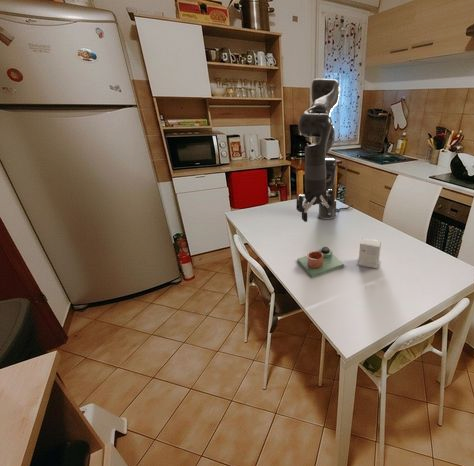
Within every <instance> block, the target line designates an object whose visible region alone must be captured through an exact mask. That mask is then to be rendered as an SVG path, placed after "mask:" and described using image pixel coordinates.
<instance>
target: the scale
mask: <svg viewBox="0 0 474 466" xmlns="http://www.w3.org/2000/svg"><path fill="white" fill-rule="evenodd" d="M322 248H323V247H321V248H319V249H318V250H317V251H319V252H321V253H322ZM322 254H323V253H322ZM297 262H298V263H299V265H300V266H301V267H302V269H304V270H305V271H306V273H307V274H309V276H310V277H311V278H314V277H319V276H320V275H323V274H326V273H329V272H332V271H335V270H338V269H341V268H343V267H345V266H344V265H345V264H344V262H342V261H341V260H340V259H339V258H338V257H336V256H335V254H333V250H332V249H331V248H329V253H327V254H323V265H322V266H321V267H320V268H311V267H309V266H308V263H307V255H305V256H302V257H298V258H297Z"/></svg>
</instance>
